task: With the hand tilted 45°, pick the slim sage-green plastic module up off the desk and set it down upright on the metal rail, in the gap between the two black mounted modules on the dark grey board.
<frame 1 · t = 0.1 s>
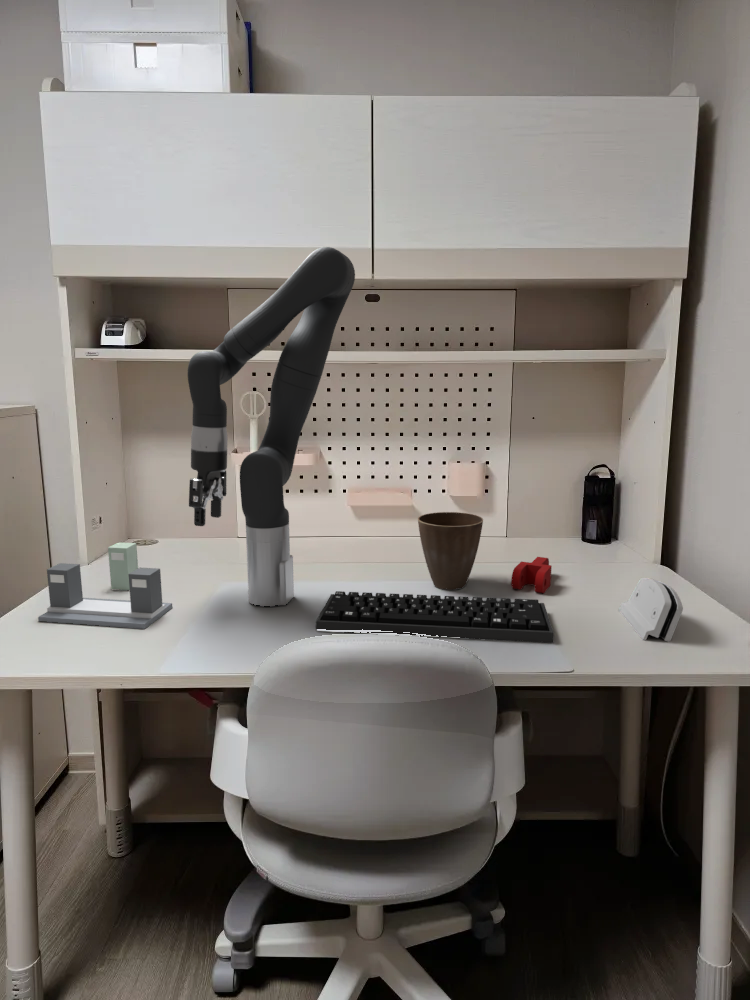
hand: (208, 521, 149), 17 cm above the table, tool pointing down, fingers open, 8 cm apart
rail board: (107, 614, 142), on the table
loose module: (125, 586, 160), on the table
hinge: (649, 626, 137), on the table
plant pot: (448, 585, 161), on the table
mechanical linkage: (535, 584, 162), on the table
computer keyboard: (433, 625, 138), on the table
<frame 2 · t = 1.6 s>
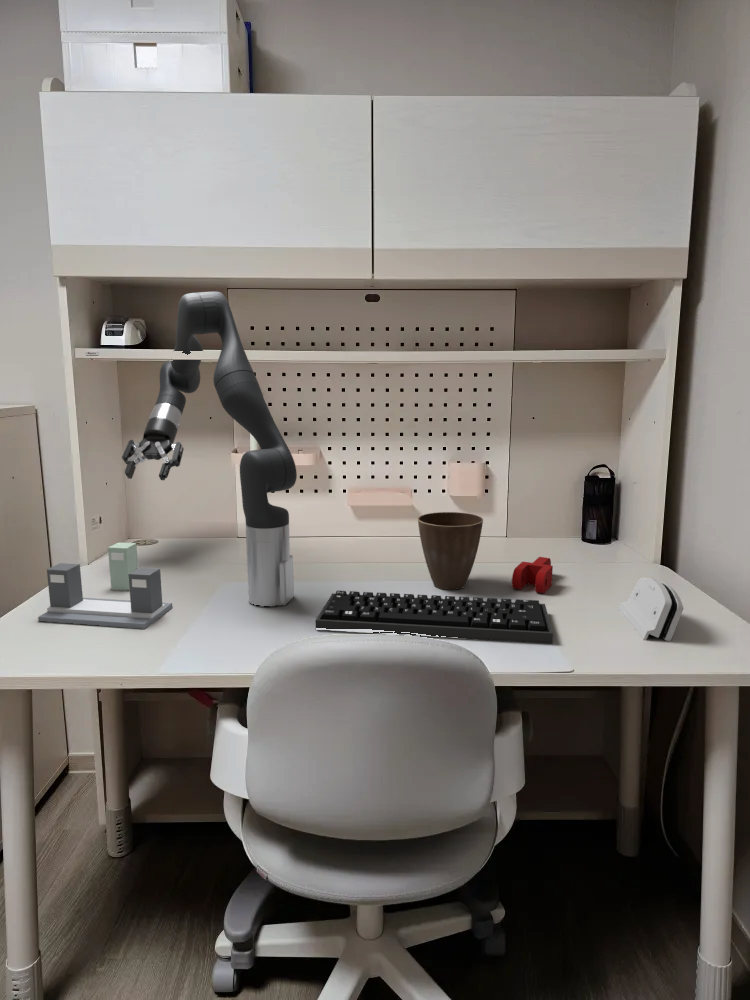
hand: (144, 477, 167), 24 cm above the table, tool tilted 45°, fingers open, 8 cm apart
nothing on the table moved.
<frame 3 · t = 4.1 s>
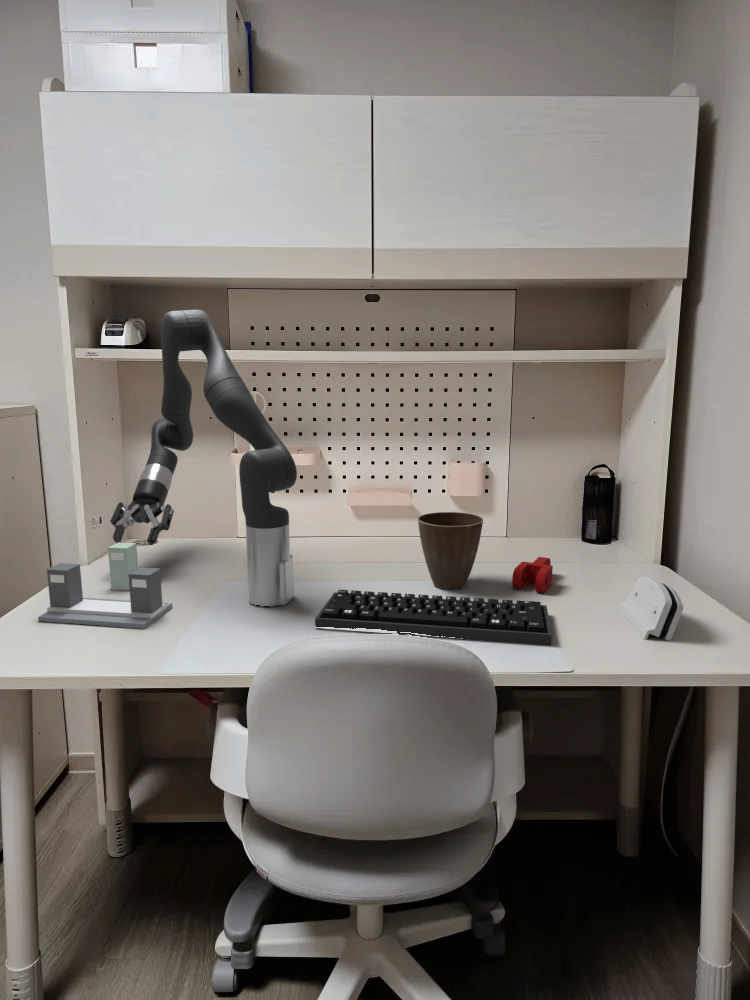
hand: (133, 542, 162), 9 cm above the table, tool tilted 45°, fingers open, 8 cm apart
nothing on the table moved.
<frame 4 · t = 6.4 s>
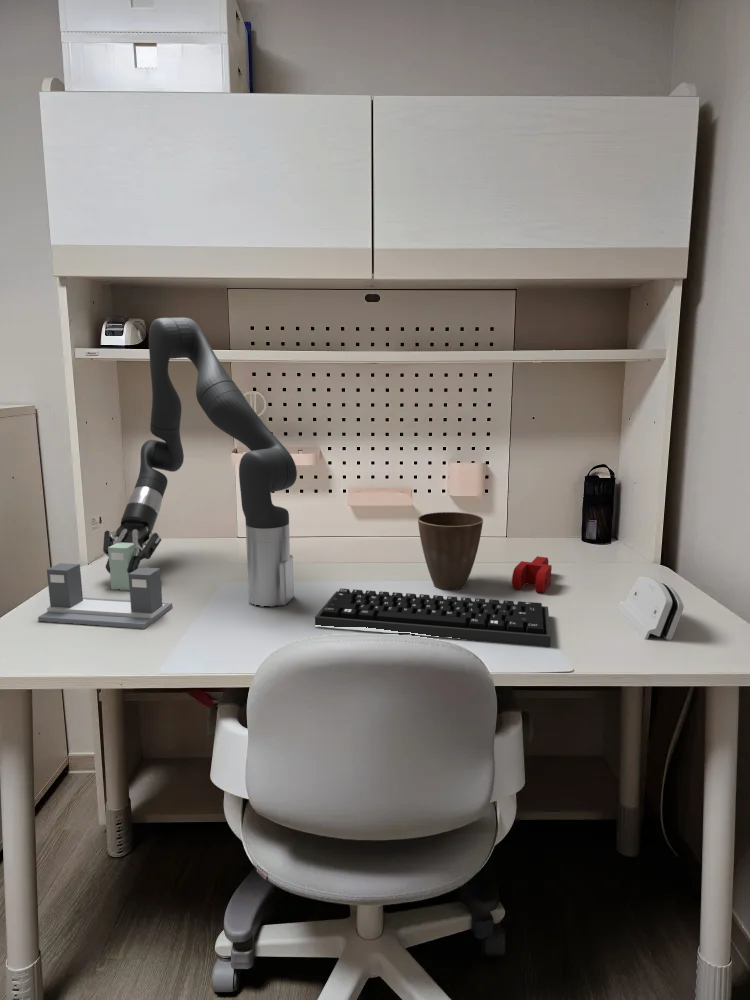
hand: (120, 572, 157), 4 cm above the table, tool tilted 45°, fingers closed on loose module, 4 cm apart
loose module: (125, 586, 160), on the table, touching gripper
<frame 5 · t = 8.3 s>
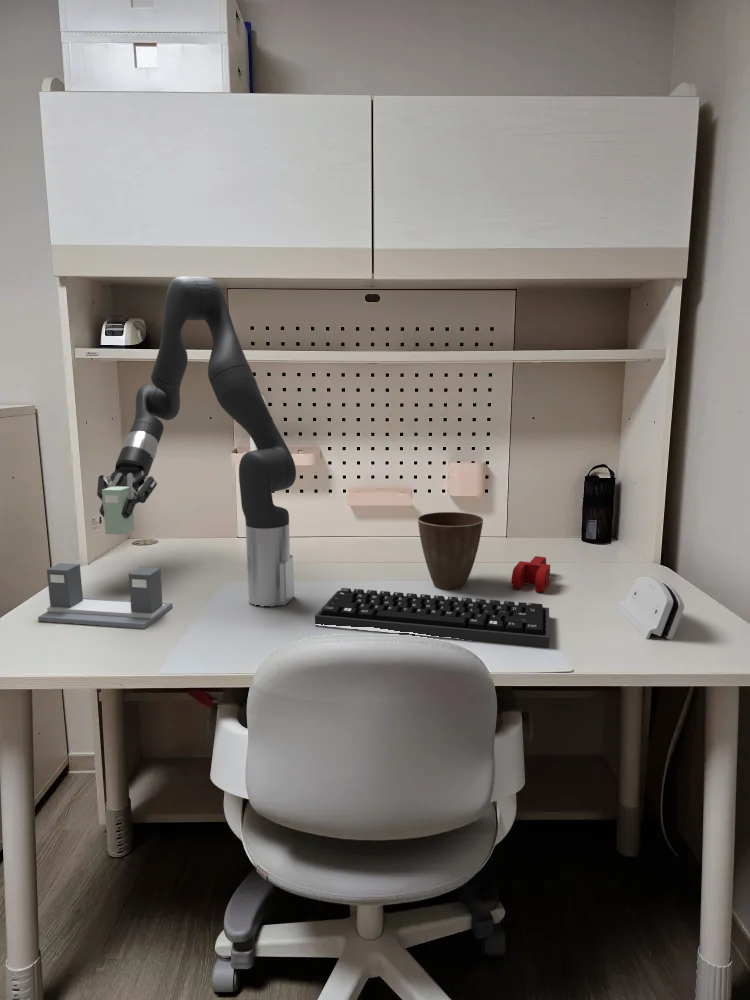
hand: (114, 515, 152), 18 cm above the table, tool tilted 45°, fingers closed on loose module, 4 cm apart
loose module: (120, 531, 155), point 14 cm above the table, touching gripper
when the fingers open (7 cm above the table, at t = 11.8 s): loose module stays where it is, resting on rail board.
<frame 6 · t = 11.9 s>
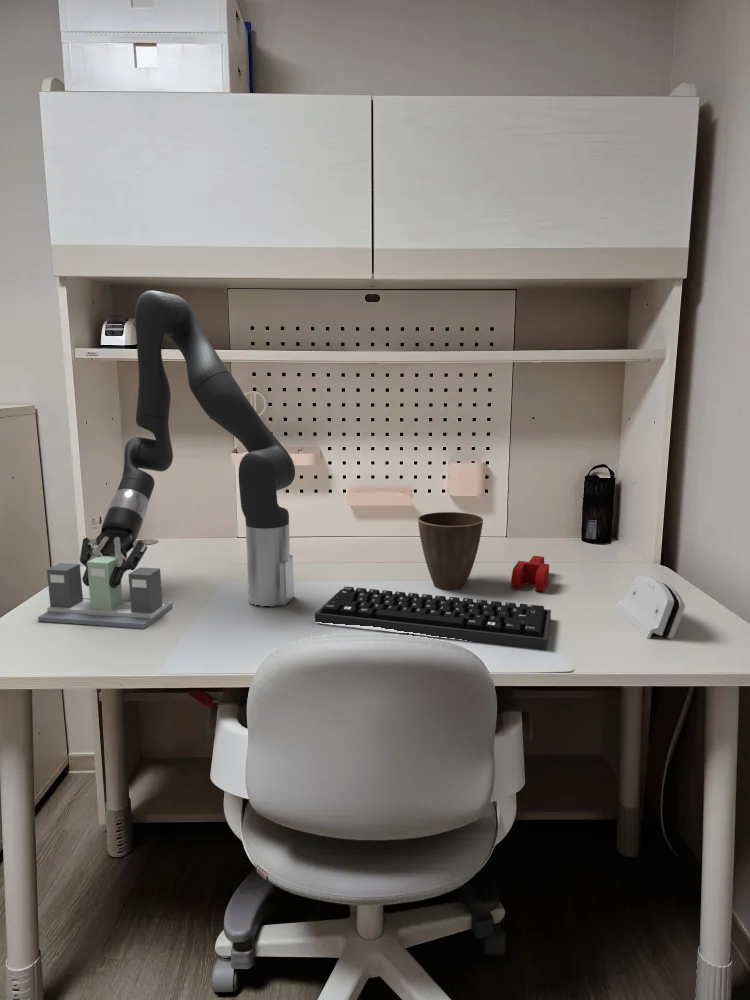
hand: (99, 585, 139), 7 cm above the table, tool tilted 45°, fingers open, 5 cm apart
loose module: (106, 606, 142), point 2 cm above the table, touching rail board
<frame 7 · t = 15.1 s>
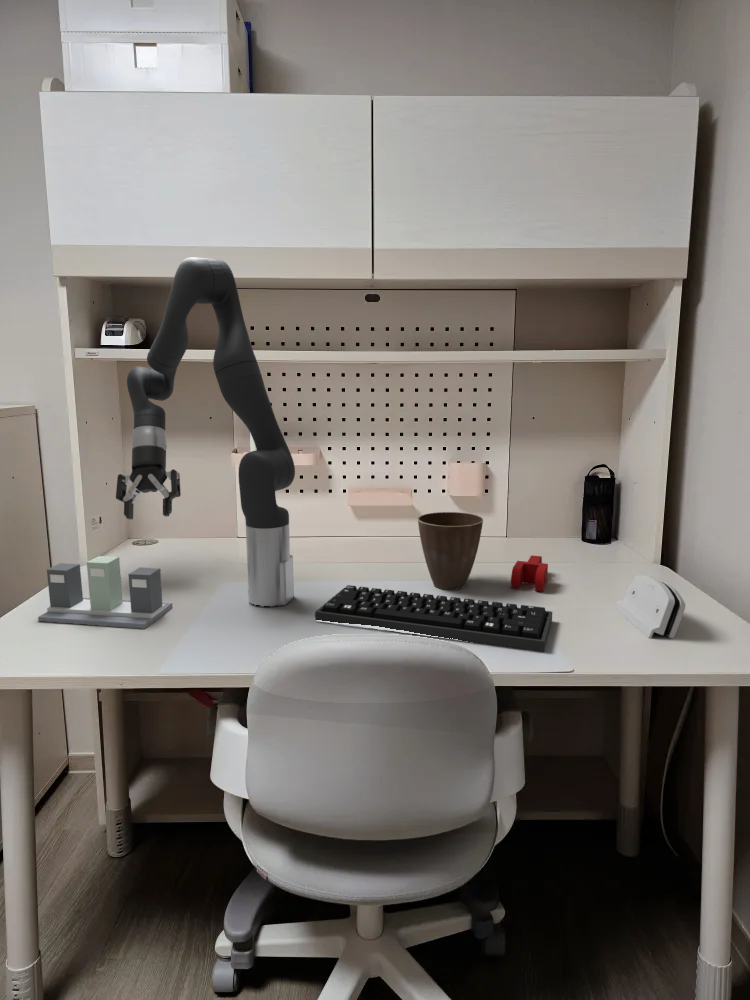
hand: (147, 517, 155), 17 cm above the table, tool tilted 25°, fingers open, 8 cm apart
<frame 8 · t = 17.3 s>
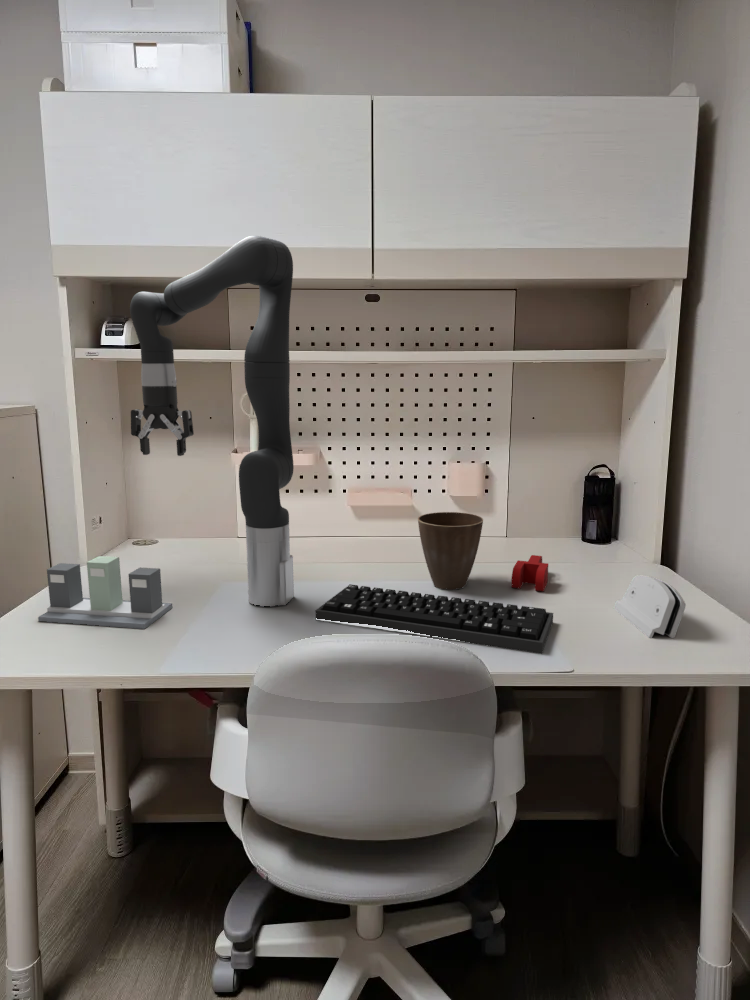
hand: (163, 455, 159), 30 cm above the table, tool pointing down, fingers open, 8 cm apart
at the end: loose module 0.1 cm off-centre on the rail board, point 1.8 cm above the rail board's base; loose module tilted 0°; the gripper is holding nothing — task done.
